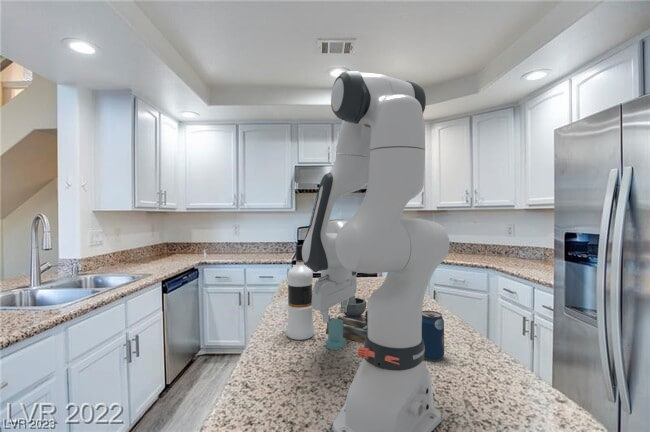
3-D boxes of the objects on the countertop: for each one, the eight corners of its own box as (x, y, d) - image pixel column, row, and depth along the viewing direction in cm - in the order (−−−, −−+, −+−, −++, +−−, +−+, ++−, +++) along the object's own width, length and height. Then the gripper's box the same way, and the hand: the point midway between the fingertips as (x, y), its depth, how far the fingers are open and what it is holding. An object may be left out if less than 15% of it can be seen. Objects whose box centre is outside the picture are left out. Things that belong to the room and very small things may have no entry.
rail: (386, 336, 102) (386, 307, 102) (375, 346, 94) (374, 314, 94) (340, 325, 112) (339, 299, 112) (326, 333, 104) (325, 305, 104)
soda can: (449, 361, 84) (449, 316, 84) (425, 363, 83) (425, 318, 83) (436, 350, 91) (435, 309, 91) (413, 351, 90) (413, 310, 90)
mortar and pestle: (368, 322, 115) (368, 290, 115) (343, 324, 113) (343, 291, 113) (361, 313, 126) (360, 283, 126) (338, 314, 125) (338, 284, 124)
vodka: (291, 343, 97) (290, 246, 97) (283, 332, 105) (282, 244, 105) (318, 338, 100) (318, 245, 100) (308, 328, 109) (308, 243, 109)
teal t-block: (336, 350, 91) (336, 323, 91) (325, 347, 93) (325, 320, 93) (345, 344, 95) (345, 318, 95) (334, 341, 98) (334, 316, 98)
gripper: (324, 280, 85) (324, 330, 85) (360, 268, 101) (359, 310, 102) (306, 277, 88) (306, 325, 89) (343, 266, 105) (343, 306, 105)
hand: (335, 317), depth 95 cm, fingers open, 8 cm apart
